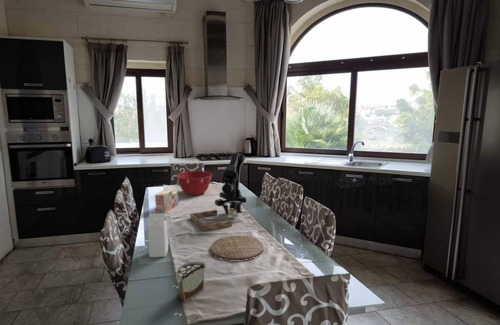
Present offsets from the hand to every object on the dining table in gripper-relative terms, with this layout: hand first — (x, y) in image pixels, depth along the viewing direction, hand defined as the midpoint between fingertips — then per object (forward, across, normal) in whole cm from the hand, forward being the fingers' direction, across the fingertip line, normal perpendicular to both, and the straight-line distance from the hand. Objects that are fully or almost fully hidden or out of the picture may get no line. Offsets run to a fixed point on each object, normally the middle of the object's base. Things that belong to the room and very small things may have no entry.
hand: (230, 214), depth 190 cm
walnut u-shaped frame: (+2, +14, 0) cm, 14 cm away
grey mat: (+2, 0, 0) cm, 3 cm away
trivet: (+3, +15, +41) cm, 44 cm away
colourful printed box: (+3, +30, -40) cm, 50 cm away
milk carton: (+3, +49, +29) cm, 57 cm away
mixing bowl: (+3, +1, -70) cm, 70 cm away
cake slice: (+3, +46, +66) cm, 80 cm away
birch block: (+1, 0, 0) cm, 1 cm away
